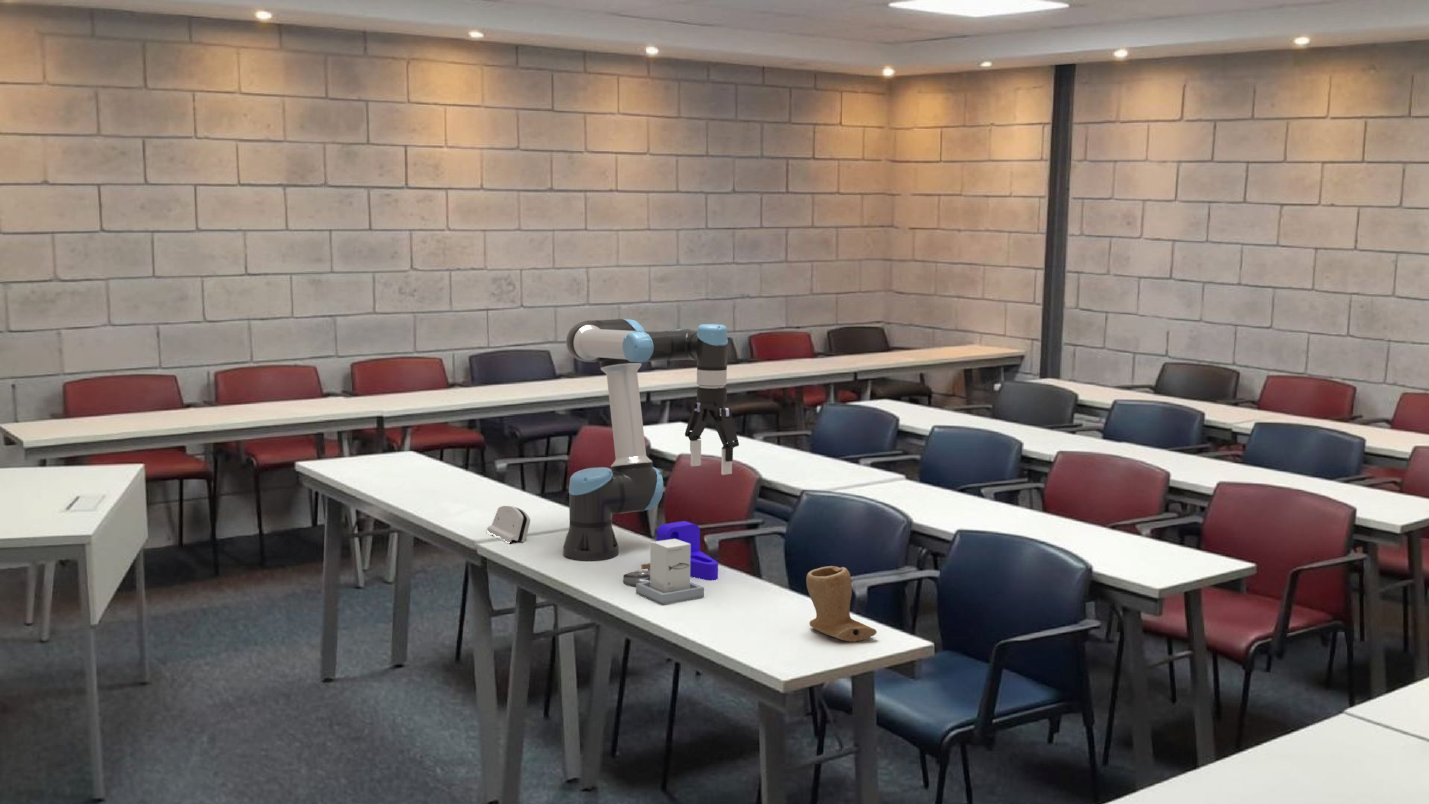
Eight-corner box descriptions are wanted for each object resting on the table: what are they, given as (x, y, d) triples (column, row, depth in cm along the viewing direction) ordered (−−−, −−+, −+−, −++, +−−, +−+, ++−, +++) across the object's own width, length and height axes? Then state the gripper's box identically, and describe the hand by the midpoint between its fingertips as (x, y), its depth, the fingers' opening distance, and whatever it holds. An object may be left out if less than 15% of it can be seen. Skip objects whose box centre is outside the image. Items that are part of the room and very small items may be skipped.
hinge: (485, 532, 378) (495, 500, 379) (499, 536, 381) (509, 503, 382) (509, 544, 364) (519, 510, 365) (523, 548, 367) (534, 514, 368)
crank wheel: (615, 580, 328) (616, 559, 327) (649, 574, 334) (649, 554, 333) (636, 589, 320) (636, 567, 319) (670, 583, 325) (670, 562, 325)
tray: (636, 593, 316) (636, 583, 316) (676, 586, 323) (676, 576, 323) (662, 605, 306) (662, 595, 306) (704, 597, 313) (704, 587, 313)
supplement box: (665, 598, 310) (666, 547, 308) (649, 591, 316) (649, 541, 314) (691, 594, 314) (691, 543, 312) (674, 587, 320) (674, 537, 318)
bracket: (656, 569, 340) (656, 525, 338) (689, 562, 347) (689, 520, 345) (698, 583, 326) (698, 538, 325) (731, 577, 333) (732, 532, 331)
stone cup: (795, 628, 289) (796, 563, 287) (840, 622, 295) (841, 558, 293) (831, 648, 276) (833, 580, 274) (877, 640, 281) (879, 574, 280)
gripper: (753, 390, 314) (752, 476, 317) (696, 380, 335) (695, 461, 337) (728, 392, 310) (727, 479, 313) (672, 382, 330) (671, 463, 333)
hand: (710, 469), depth 325 cm, fingers open, 13 cm apart
